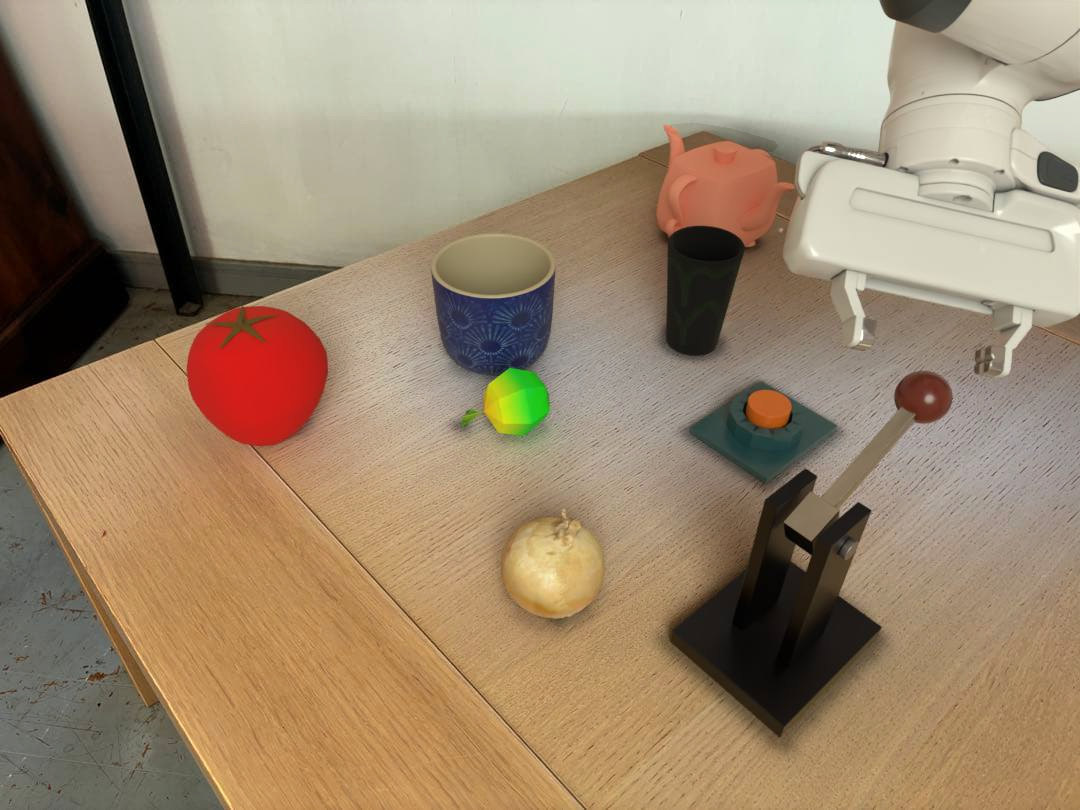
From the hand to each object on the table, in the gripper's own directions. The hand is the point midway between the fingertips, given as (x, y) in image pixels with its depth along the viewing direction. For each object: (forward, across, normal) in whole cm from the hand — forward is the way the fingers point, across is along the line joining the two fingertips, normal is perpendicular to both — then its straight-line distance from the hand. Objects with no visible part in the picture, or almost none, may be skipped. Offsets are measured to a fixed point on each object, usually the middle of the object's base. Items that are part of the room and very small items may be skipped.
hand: (924, 361), depth 55 cm
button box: (+2, -1, +26) cm, 26 cm away
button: (0, -1, +24) cm, 24 cm away
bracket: (+20, -3, +11) cm, 23 cm away
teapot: (-26, -2, +50) cm, 57 cm away
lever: (+7, -1, +3) cm, 8 cm away
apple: (+6, -25, +29) cm, 39 cm away
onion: (+20, -20, +16) cm, 32 cm away
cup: (-8, -6, +36) cm, 38 cm away
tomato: (+10, -47, +31) cm, 57 cm away
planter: (-3, -27, +37) cm, 46 cm away
